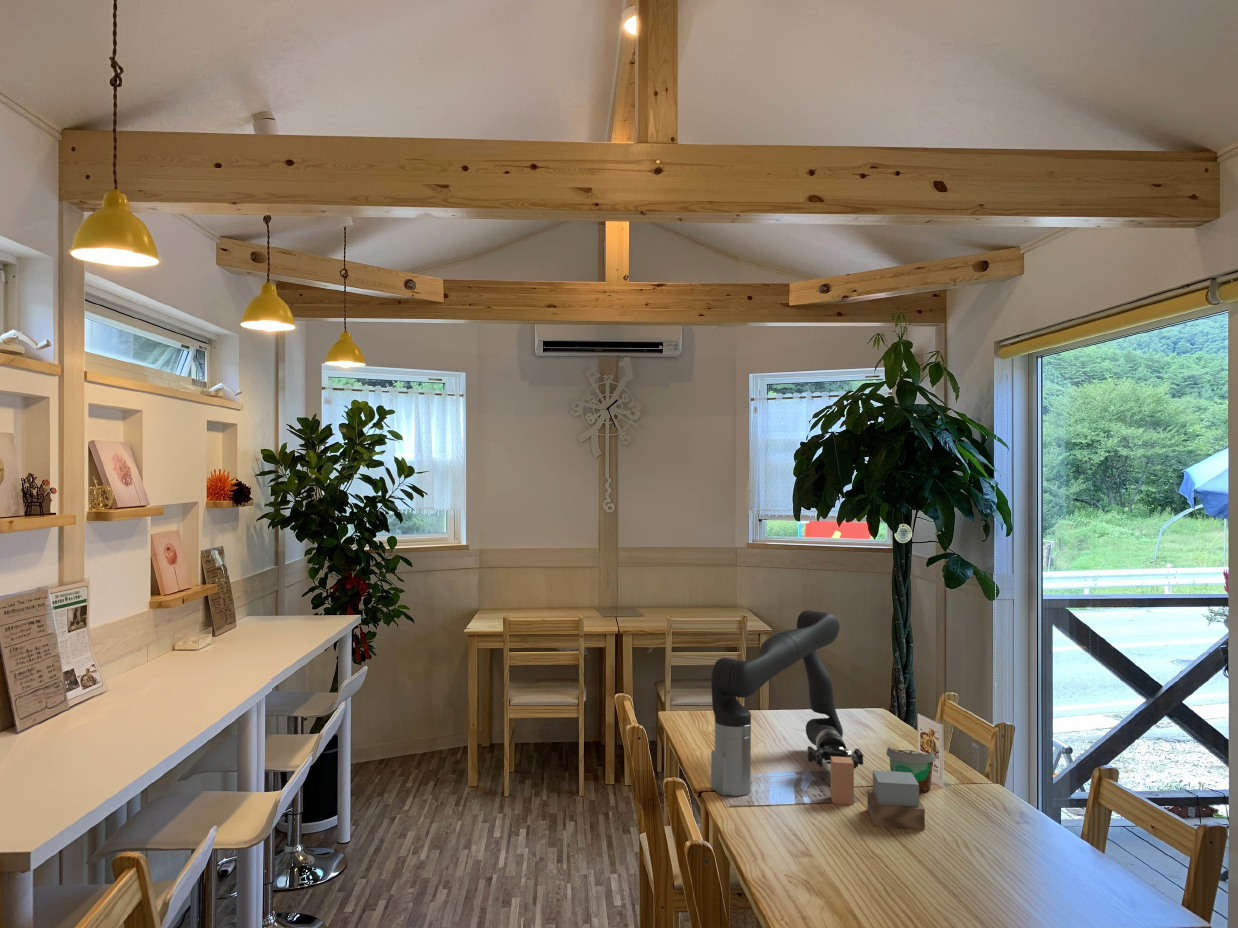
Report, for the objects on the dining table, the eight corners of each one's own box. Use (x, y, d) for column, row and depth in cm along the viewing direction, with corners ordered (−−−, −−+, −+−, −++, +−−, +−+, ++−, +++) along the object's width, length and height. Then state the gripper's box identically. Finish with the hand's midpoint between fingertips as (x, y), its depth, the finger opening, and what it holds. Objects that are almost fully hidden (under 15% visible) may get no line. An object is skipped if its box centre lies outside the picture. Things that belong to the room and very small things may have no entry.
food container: (882, 789, 222) (882, 750, 222) (886, 782, 227) (886, 744, 228) (932, 798, 216) (932, 757, 217) (936, 790, 222) (935, 751, 222)
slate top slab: (878, 804, 198) (878, 782, 198) (872, 791, 207) (872, 770, 207) (919, 806, 197) (919, 784, 197) (911, 793, 206) (911, 772, 206)
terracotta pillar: (832, 803, 212) (833, 762, 212) (830, 796, 217) (830, 756, 217) (853, 804, 211) (853, 763, 211) (850, 797, 216) (851, 757, 216)
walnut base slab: (874, 827, 197) (874, 805, 197) (867, 810, 208) (867, 789, 208) (924, 831, 195) (924, 808, 196) (914, 813, 206) (914, 792, 206)
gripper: (804, 730, 239) (809, 747, 223) (857, 733, 238) (866, 750, 221) (804, 758, 239) (809, 776, 223) (857, 760, 237) (866, 779, 221)
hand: (837, 763), depth 222 cm, fingers open, 8 cm apart
